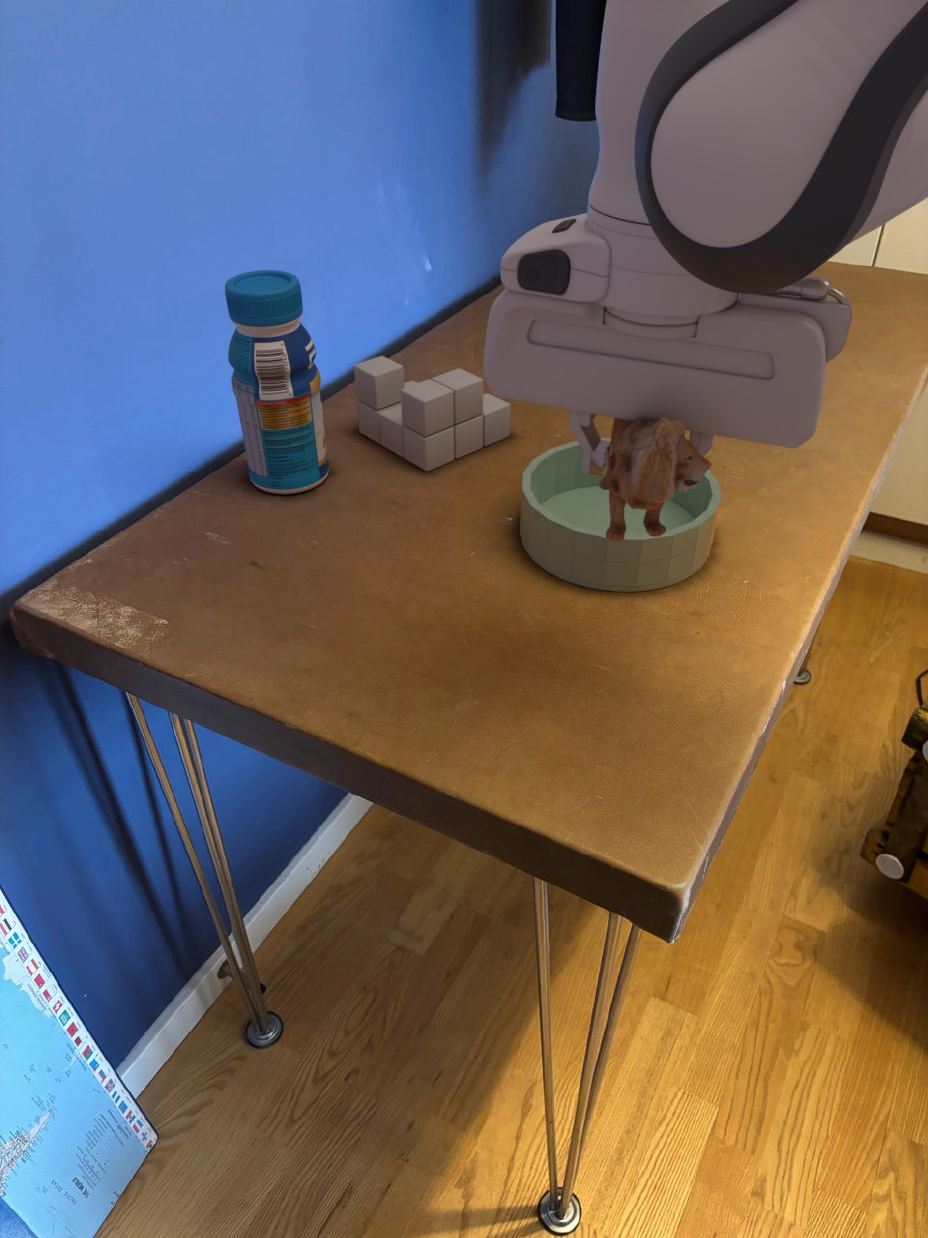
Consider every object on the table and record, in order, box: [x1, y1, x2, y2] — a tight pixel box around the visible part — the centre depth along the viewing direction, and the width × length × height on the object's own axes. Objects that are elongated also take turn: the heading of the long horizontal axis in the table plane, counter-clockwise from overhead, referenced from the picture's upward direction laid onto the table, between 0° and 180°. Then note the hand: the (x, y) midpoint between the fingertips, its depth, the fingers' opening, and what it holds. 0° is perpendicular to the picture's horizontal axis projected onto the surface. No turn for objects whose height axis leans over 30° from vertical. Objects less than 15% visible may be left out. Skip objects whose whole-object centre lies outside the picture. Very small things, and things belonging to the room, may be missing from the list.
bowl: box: [519, 437, 723, 593], centre depth 83 cm, size 18×18×6 cm
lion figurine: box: [599, 417, 713, 541], centre depth 58 cm, size 15×5×9 cm, turn 3°
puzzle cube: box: [353, 355, 512, 472], centre depth 99 cm, size 12×12×8 cm
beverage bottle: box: [224, 269, 330, 495], centre depth 88 cm, size 8×8×20 cm
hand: (635, 477), depth 59 cm, fingers closed on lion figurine, 4 cm apart
